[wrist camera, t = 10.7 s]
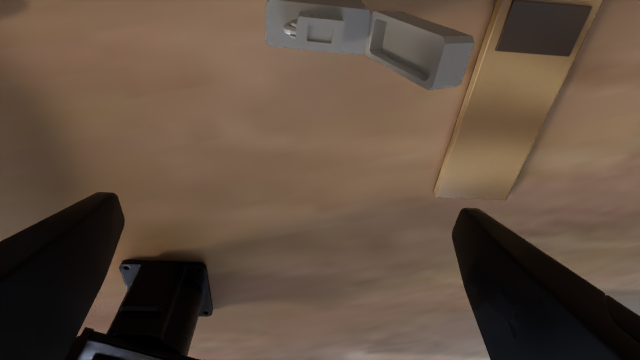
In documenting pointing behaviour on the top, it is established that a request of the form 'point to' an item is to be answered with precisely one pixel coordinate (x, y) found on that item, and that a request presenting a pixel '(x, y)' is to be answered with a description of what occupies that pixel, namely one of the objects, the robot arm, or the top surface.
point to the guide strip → (511, 93)
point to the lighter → (372, 38)
